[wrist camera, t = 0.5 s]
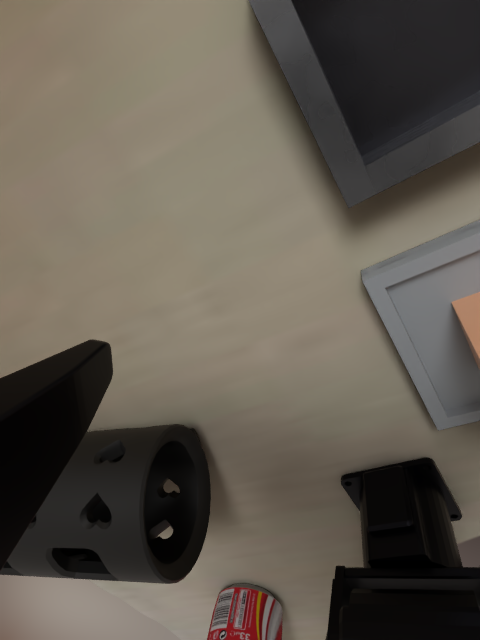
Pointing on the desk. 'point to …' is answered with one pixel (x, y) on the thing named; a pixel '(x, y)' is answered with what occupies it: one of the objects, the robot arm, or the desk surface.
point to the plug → (470, 321)
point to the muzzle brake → (121, 510)
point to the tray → (433, 320)
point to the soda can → (246, 615)
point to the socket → (380, 82)
